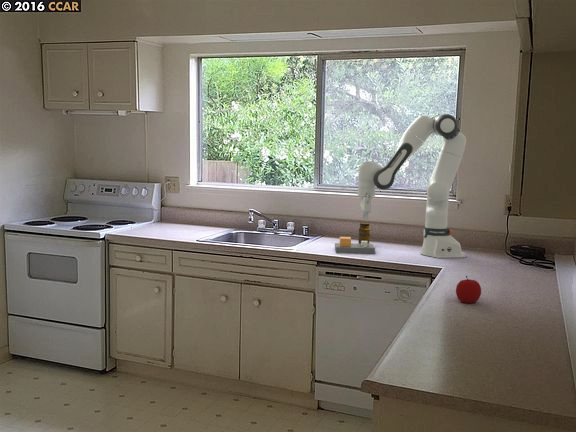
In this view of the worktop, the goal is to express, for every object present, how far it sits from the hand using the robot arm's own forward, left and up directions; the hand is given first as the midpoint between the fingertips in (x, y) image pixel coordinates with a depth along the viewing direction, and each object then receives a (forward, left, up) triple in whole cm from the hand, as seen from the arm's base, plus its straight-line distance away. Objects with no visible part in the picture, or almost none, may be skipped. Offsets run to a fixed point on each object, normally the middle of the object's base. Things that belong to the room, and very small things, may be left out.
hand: (365, 219), depth 321 cm
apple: (-30, +92, -17) cm, 98 cm away
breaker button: (0, 0, -17) cm, 17 cm away
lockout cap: (+10, 0, -14) cm, 17 cm away
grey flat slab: (+5, 0, -17) cm, 18 cm away
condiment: (-1, -19, -17) cm, 26 cm away
